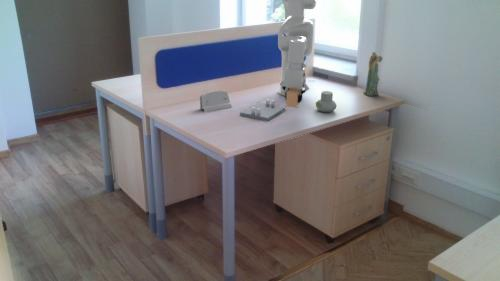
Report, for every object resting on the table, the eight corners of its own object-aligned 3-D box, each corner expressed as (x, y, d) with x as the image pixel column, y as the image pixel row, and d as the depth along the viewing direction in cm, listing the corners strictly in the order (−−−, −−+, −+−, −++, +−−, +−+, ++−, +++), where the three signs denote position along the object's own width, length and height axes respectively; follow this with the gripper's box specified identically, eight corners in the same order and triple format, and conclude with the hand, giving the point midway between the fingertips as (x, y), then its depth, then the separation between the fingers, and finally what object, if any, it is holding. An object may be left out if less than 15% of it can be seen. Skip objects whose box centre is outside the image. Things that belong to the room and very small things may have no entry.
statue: (380, 94, 283) (385, 52, 273) (370, 96, 278) (375, 54, 269) (372, 91, 288) (377, 50, 278) (361, 93, 284) (366, 51, 274)
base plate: (258, 104, 261) (258, 96, 259) (285, 109, 253) (285, 101, 252) (240, 115, 244) (240, 106, 243) (267, 120, 237) (268, 112, 235)
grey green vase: (313, 108, 257) (315, 90, 253) (327, 106, 260) (329, 89, 256) (323, 114, 248) (325, 96, 244) (337, 113, 250) (339, 94, 247)
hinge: (204, 111, 248) (200, 92, 247) (200, 112, 252) (197, 93, 251) (232, 107, 256) (229, 88, 255) (228, 107, 260) (225, 89, 259)
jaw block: (290, 98, 246) (291, 85, 243) (300, 99, 244) (301, 86, 242) (285, 106, 235) (286, 92, 232) (296, 107, 234) (296, 93, 231)
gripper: (315, 66, 231) (312, 101, 238) (282, 61, 239) (281, 95, 246) (309, 69, 225) (306, 106, 232) (276, 64, 233) (274, 99, 240)
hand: (293, 100), depth 239 cm, fingers closed on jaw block, 5 cm apart
